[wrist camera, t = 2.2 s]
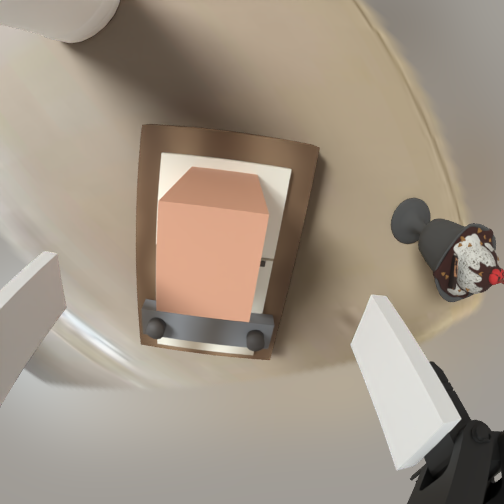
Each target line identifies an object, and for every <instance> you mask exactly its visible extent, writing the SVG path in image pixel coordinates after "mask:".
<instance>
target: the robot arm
mask: <svg viewBox="0 0 504 504" xmlns="http://www.w3.org/2000/svg"><path fill="white" fill-rule="evenodd" d="M66 308H67V306H66V301H65V296H64V291H63V285H62V280H61V273H60V267H59V260H58V253H53V252H47V251H44V252H42V253H41V254H40V255H39V256H38V257H36V258H35V259H34V260H33V261H32V262H31V263H30V264H28V265H27V266H26V267H25V268H24V269H23V270H22V271H20V272H19V273H18V274H17V275H16V276H15V277H14V278H13V279H12V280H11V281H10V282H8V283H7V284H6V285H5V286H4V287H3V288H2V289H1V290H0V406H1V405H2V403H3V401H4V400H5V398H6V396H7V394H8V393H9V391H10V389H11V388H12V386H13V385H14V383H15V381H16V380H17V378H18V377H19V375H20V373H21V372H22V370H23V369H24V367H25V366H26V364H27V363H28V361H29V360H30V358H31V357H32V355H33V354H34V352H35V351H36V349H37V348H38V346H39V345H40V343H41V342H42V340H43V339H44V338H45V336H46V335H47V333H48V332H49V331H50V329H51V328H52V326H53V325H54V324H55V322H56V321H57V320H58V318H59V317H60V316H61V314H62V313H63V312H64V310H65V309H66ZM350 345H351V348H352V350H353V353H354V355H355V358H356V360H357V363H358V365H359V368H360V370H361V373H362V375H363V378H364V381H365V383H366V386H367V389H368V391H369V394H370V396H371V399H372V402H373V405H374V407H375V410H376V413H377V415H378V418H379V421H380V424H381V427H382V429H383V432H384V435H385V438H386V441H387V444H388V447H389V449H390V453H391V456H392V459H393V462H394V465H395V468H396V470H400V469H404V468H408V467H412V466H415V465H416V464H417V463H418V462H419V461H420V460H421V459H423V458H425V461H426V464H425V465H424V466H423V467H422V468H421V469H419V470H418V471H417V472H416V473H415V474H413V475H412V477H411V478H410V480H413V479H414V478H416V477H417V476H418V475H419V474H420V475H419V477H418V480H417V481H416V485H415V487H414V489H413V492H412V494H411V496H410V499H409V501H408V503H407V504H504V431H503V432H498V431H491V430H490V428H489V427H488V426H487V425H486V424H485V423H483V422H482V421H478V420H471V419H470V417H469V416H468V413H467V412H466V410H465V408H464V406H463V405H462V403H461V401H460V399H459V398H458V396H457V394H456V392H455V391H453V387H452V386H451V384H450V383H448V379H447V377H446V376H445V374H444V372H443V371H442V370H441V369H440V368H439V367H438V366H437V365H436V364H435V363H434V362H429V361H428V359H427V358H426V356H425V355H424V353H423V351H422V350H421V348H420V346H419V345H418V343H417V342H416V340H415V339H414V337H413V335H412V334H411V332H410V331H409V329H408V328H407V326H406V325H405V323H404V322H403V320H402V319H401V317H400V316H399V314H398V313H397V311H396V310H395V308H394V307H393V305H392V304H391V302H390V301H389V299H388V298H387V296H381V295H371V296H370V299H369V301H368V304H367V306H366V309H365V311H364V314H363V316H362V319H361V321H360V323H359V326H358V328H357V331H356V333H355V335H354V338H353V340H352V342H351V344H350ZM499 472H501V473H502V478H501V479H500V480H498V481H497V482H495V481H494V476H496V475H497V474H498V473H499Z"/></svg>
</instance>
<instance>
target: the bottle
mask: <svg viewBox="0 0 504 504" xmlns="http://www.w3.org/2000/svg"><path fill="white" fill-rule="evenodd" d="M119 3H120V0H0V25H3V26H8V27H12V28H16V29H20V30H24V31H28V32H32V33H35V34H39V35H43V36H44V37H46V38H49V39H53V40H57V41H61V42H67V43H76V42H82V41H84V40H86V39H88V38H90V37H92V36H94V35H95V34H96V33H98V32H99V31H100V30H101V29H102V28H104V27H105V26H106V25H107V23H108V22H109V21H110V20H111V18H112V17H113V16H114V14H115V12H116V10H117V7H118V5H119Z"/></svg>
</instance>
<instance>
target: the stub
mask: <svg viewBox="0 0 504 504" xmlns="http://www.w3.org/2000/svg"><path fill="white" fill-rule="evenodd" d="M290 175H291V169H289V168H283V167H277V166H271V165H265V164H258V163H251V162H244V161H237V160H229V159H222V158H213V157H205V156H195V155H185V154H175V153H161V164H160V176H159V190H158V206H157V227H156V244H157V248H156V310H157V311H163V312H170V313H177V314H184V315H191V316H199V317H207V318H215V319H223V320H232V321H242V322H249V320H250V315H251V310H252V305H253V299H254V294H255V289H256V283H257V278H258V273H259V267H260V262H261V257H262V258H270V259H274V256H275V251H276V246H277V242H278V237H279V232H280V227H281V222H282V216H283V211H284V206H285V201H286V196H287V191H288V186H289V180H290Z"/></svg>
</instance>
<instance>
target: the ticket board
mask: <svg viewBox="0 0 504 504" xmlns="http://www.w3.org/2000/svg"><path fill="white" fill-rule="evenodd" d="M161 153H175V154H185V155H195V156H205V157H213V158H222V159H229V160H237V161H244V162H251V163H258V164H265V165H271V166H277V167H283V168H289V169H291V175H290V180H289V186H288V191H287V196H286V201H285V206H284V211H283V216H282V222H281V227H280V232H279V237H278V242H277V246H276V251H275V256H274V259H270V258H262V257H261V262H260V267H259V273H258V278H257V283H256V289H255V294H254V299H253V305H252V310H251V315H250V320H249V322H242V321H232V320H223V319H215V318H207V317H199V316H191V315H184V314H177V313H170V312H163V311H157V310H156V248H157V244H156V227H157V206H158V190H159V176H160V164H161ZM318 154H319V147H317V146H314V145H311V144H306V143H301V142H295V141H290V140H285V139H279V138H273V137H267V136H261V135H254V134H247V133H240V132H233V131H225V130H216V129H207V128H197V127H186V126H173V125H158V124H146V125H142V131H141V141H140V152H139V166H138V182H137V206H136V274H137V298H138V314H139V328H140V339H141V344H142V345H148V346H154V347H160V348H166V349H173V350H179V351H186V352H194V353H202V354H210V355H219V356H228V357H238V358H249V359H262V360H270V357H271V354H272V350H273V346H274V343H275V339H276V335H277V331H278V328H279V324H280V320H281V316H282V312H283V308H284V304H285V301H286V297H287V293H288V289H289V285H290V280H291V276H292V272H293V268H294V264H295V260H296V255H297V251H298V247H299V243H300V238H301V234H302V229H303V225H304V221H305V216H306V211H307V207H308V202H309V198H310V193H311V188H312V183H313V178H314V174H315V169H316V164H317V159H318Z"/></svg>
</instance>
